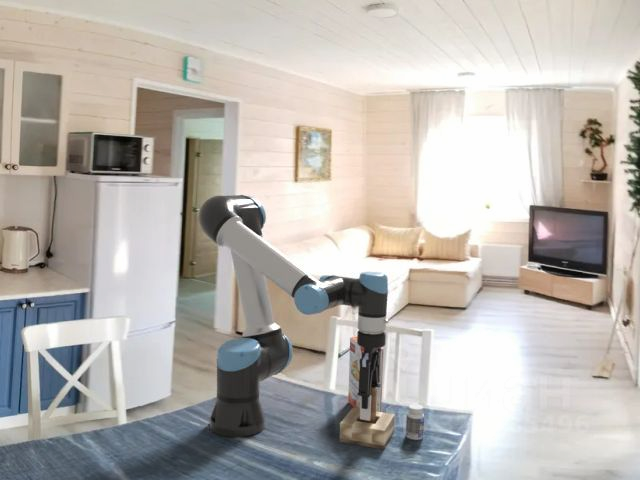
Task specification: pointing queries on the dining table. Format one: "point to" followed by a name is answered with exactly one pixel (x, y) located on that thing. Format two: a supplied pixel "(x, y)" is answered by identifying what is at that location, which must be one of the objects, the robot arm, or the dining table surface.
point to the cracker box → (354, 375)
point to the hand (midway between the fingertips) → (368, 414)
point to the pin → (372, 406)
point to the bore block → (367, 429)
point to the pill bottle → (415, 422)
